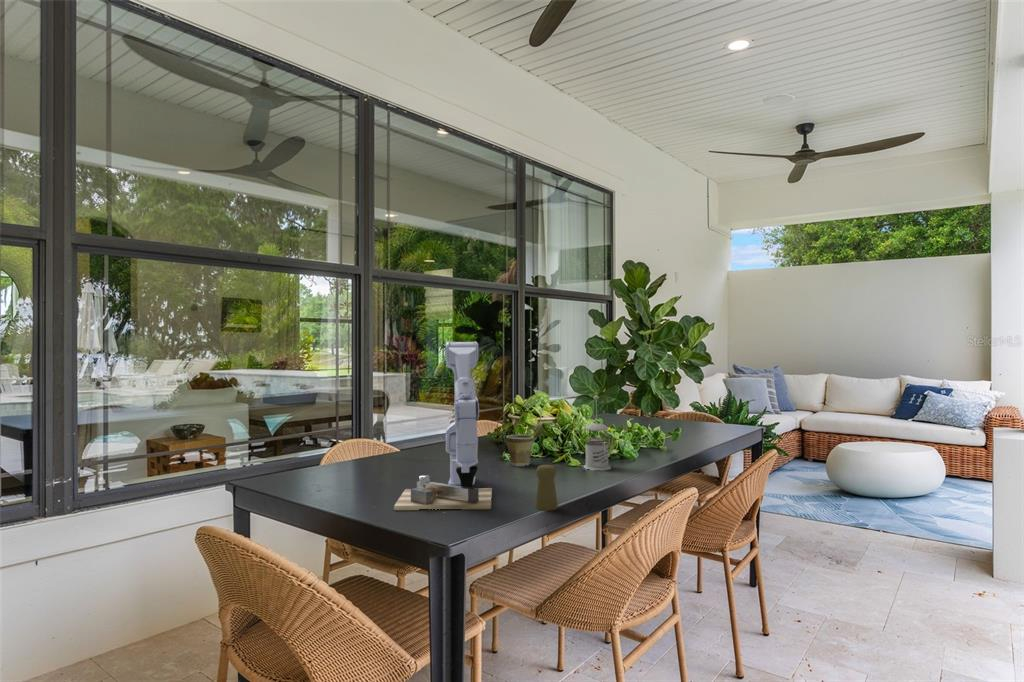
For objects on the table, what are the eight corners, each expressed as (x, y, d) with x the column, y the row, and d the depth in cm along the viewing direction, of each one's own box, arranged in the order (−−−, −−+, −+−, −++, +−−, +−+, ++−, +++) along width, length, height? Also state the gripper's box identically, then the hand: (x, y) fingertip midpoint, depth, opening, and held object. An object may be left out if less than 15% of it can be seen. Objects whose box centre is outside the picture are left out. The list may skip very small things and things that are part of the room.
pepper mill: (544, 503, 163) (543, 462, 163) (562, 506, 159) (562, 464, 159) (530, 508, 158) (529, 465, 158) (549, 511, 154) (548, 468, 154)
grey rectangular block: (417, 499, 163) (417, 487, 163) (433, 502, 159) (432, 490, 159) (410, 501, 161) (410, 489, 161) (426, 504, 157) (426, 492, 157)
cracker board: (405, 493, 175) (405, 489, 175) (491, 492, 175) (491, 488, 175) (394, 510, 157) (394, 505, 157) (490, 509, 157) (490, 504, 157)
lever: (415, 493, 168) (415, 476, 168) (422, 491, 170) (422, 474, 170) (473, 503, 157) (473, 484, 157) (479, 500, 160) (479, 482, 160)
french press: (576, 466, 211) (576, 395, 211) (602, 463, 217) (601, 393, 217) (595, 471, 202) (594, 396, 203) (621, 467, 209) (620, 395, 209)
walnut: (424, 498, 164) (424, 484, 164) (437, 497, 164) (437, 484, 164) (422, 501, 161) (422, 487, 161) (436, 501, 161) (435, 487, 161)
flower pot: (534, 467, 211) (534, 438, 211) (505, 467, 211) (505, 438, 211) (533, 460, 224) (533, 433, 224) (506, 460, 224) (506, 433, 224)
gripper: (453, 439, 171) (454, 487, 171) (449, 448, 156) (449, 501, 156) (479, 439, 171) (479, 487, 171) (476, 448, 156) (477, 500, 156)
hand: (467, 494), depth 163 cm, fingers closed
